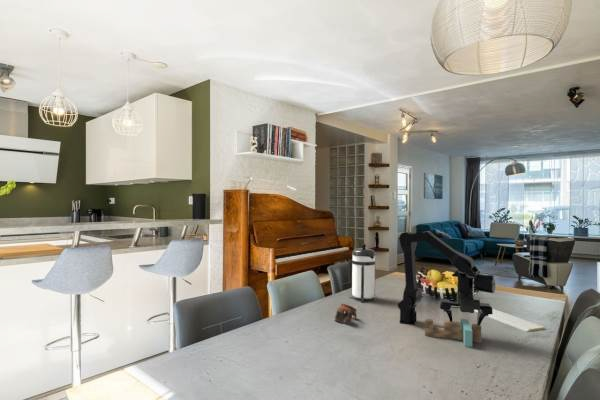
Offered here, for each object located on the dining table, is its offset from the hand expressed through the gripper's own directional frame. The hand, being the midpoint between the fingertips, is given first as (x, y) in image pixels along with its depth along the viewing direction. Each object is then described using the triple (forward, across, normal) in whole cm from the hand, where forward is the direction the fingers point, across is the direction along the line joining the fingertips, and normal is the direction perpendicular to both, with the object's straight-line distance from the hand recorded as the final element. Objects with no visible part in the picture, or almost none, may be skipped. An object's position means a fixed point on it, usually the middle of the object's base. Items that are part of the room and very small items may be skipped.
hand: (464, 327), depth 139 cm
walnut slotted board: (+3, -5, -4) cm, 7 cm away
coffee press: (+3, -47, +38) cm, 61 cm away
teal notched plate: (+3, 0, -5) cm, 5 cm away
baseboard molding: (+4, +19, +29) cm, 35 cm away
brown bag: (+3, -48, 0) cm, 48 cm away
